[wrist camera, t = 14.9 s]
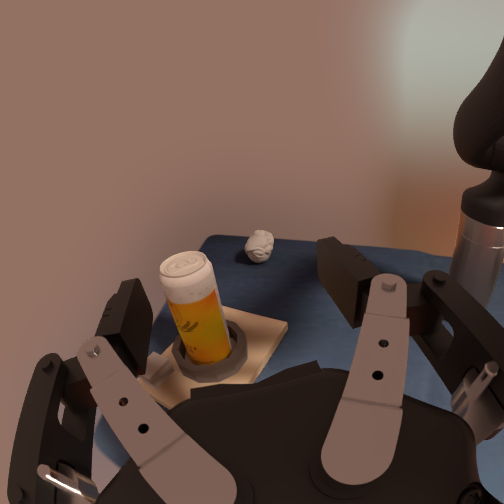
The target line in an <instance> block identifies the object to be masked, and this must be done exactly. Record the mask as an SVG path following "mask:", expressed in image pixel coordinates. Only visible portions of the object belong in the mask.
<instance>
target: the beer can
mask: <svg viewBox="0 0 504 504" xmlns="http://www.w3.org/2000/svg"><path fill="white" fill-rule="evenodd" d="M159 280H160V283H161V286H162V289H163V292H164V294H165V297H166V300H167V302H168V305H169V308H170V310H171V313H172V315H173V318H174V321H175V323H176V326H177V328H178V330H179V333H180V335H181V338H182V340H183V343H184V345H185V347H186V350H187V352H188V354H189V356H190V359H191V361H192V362H193V363H194V364H195V365H213V364H215V363H218V362H220V361H222V360H224V359H226V358H228V357H229V356H230V354H231V353H232V352H233V346H232V343H231V339H230V335H229V331H228V328H227V324H226V320H225V316H224V312H223V308H222V305H221V301H220V297H219V293H218V289H217V284H216V280H215V276H214V272H213V268H212V264H211V263H210V261H209V260H208V259H207V258H206V256H205V254H203V253H201V252H197V251H188V252H183V253H179V254H176V255H173V256H171V257H169V258H168V259H166V260H165V261H164V262H163V263H162V264H161V266H160V276H159Z"/></svg>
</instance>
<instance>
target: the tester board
mask: <svg viewBox="0 0 504 504" xmlns="http://www.w3.org/2000/svg"><path fill="white" fill-rule="evenodd" d="M222 308H223V312H224V316H225V320H226V324H227V328H228V331H229V335H230V339H231V343H232V346H233V352H232V353H231V354H230V356H229V357H228V358H226V359H224V360H222V361H220V362H218V363H215V364H213V365H195V364H194V363H193V362H192V361H191V359H190V356H189V354H188V352H187V350H186V347H185V345H184V343H183V340H182V338H181V335H180V333H179V334H178V335H177V336H176V337H175V339H174V342H173V343H172V344H171V345H170V346H169V347H168V348H167V349H166V350H165V351H164V352H163V353H162V354H161V355H159V354H157V353H156V352H152V353H151V354H150V355H149V356H148V357H147V365H146V374H145V375H138V376H139V377H138V378H137V380H138V382H139V383H140V384H141V385H142V386H143V388H144V389H145V390H146V391H147V392H148V394H149V395H150V396H151V397H152V398H153V399H154V400H155V401H157V402H158V403H160V404H161V405H163V406H164V407H166V408H168V409H169V410H170V409H171V408H173V407H174V406H175V405H177V404H179V403H180V402H182V401H184V400H186V399H189V398H190V389H191V388H197V387H204V386H210V385H216V384H253V383H254V381H255V380H256V378H257V377H258V375H259V374H260V372H261V371H262V369H263V368H264V366H265V365H266V363H267V362H268V360H269V359H270V357H271V355H272V354H273V352H274V351H275V349H276V348H277V346H278V344H279V343H280V341H281V340H282V338H283V336H284V335H285V333H286V332H287V330H288V324H287V322H284V321H280V320H276V319H272V318H268V317H264V316H260V315H256V314H252V313H248V312H244V311H240V310H236V309H233V308H229V307H225V306H222Z"/></svg>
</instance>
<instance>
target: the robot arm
mask: <svg viewBox="0 0 504 504" xmlns="http://www.w3.org/2000/svg"><path fill="white" fill-rule="evenodd" d="M453 139H454V144H455V148H456V150H457V153H458V154H459V156H460V157H461V159H462V160H463V161H464V162H466V163H467V164H469V165H471V166H474V167H476V168H482V169H487V170H492V172H491V175H490V177H489V178H488V179H487V180H486V181H485V182H484V183H482V184H480V185H477V186H474V187H471V188H468V189H466V190H465V191H464V193H463V195H462V202H461V210H460V218H459V225H458V231H457V237H456V242H455V247H454V252H453V257H452V261H451V265H450V270H449V274H447V273H445V272H442V271H438V270H431V271H428V272H426V273H425V274H424V276H423V281H422V283H413V284H406V282H405V281H404V280H403V279H402V278H401V277H399V276H397V275H394V274H382V273H381V272H380V271H379V270H378V269H377V268H376V267H375V266H374V265H373V264H372V263H371V262H370V261H369V260H367V258H365V257H364V256H363V255H362V254H361V253H360V252H359V251H358V250H357V249H356V248H353V247H351V246H349V245H343V244H342V243H341V242H340V241H338V240H337V239H336V238H335V237H328V238H324V239H319V240H318V241H317V272H318V277H319V280H320V282H321V284H322V285H323V286H324V288H325V289H326V291H327V292H328V294H329V295H330V296H331V298H332V299H333V301H334V302H335V304H336V305H337V307H338V308H339V309H340V311H341V312H342V314H343V315H344V317H345V318H346V320H347V321H348V323H349V324H350V326H351V327H352V329H354V328H357V327H360V326H362V327H361V331H360V335H359V339H358V343H357V347H356V351H355V355H354V358H353V362H352V365H351V369H350V372H349V371H346V370H341V369H334V368H322V369H320V367H319V365H318V363H317V360H316V361H312V362H309V363H306V364H302V365H299V366H295V367H291V368H288V369H285V370H283V371H281V372H279V373H277V374H275V375H273V376H271V377H269V378H267V379H264V380H262V381H260V382H258V383H254V384H216V385H210V386H204V387H197V388H191V389H190V398H189V399H186V400H184V401H182V402H180V403H179V404H177V405H175V406H174V407H173V408H171V409H170V410H169V411H168V412H167V413H165V412H164V410H163V409H162V408H161V407H160V406H159V405H158V404H157V403H156V402H155V400H154V399H153V398H152V397H151V396H150V395H149V394H148V392H147V391H146V390H145V389H144V388H143V386H142V385H141V384H140V383H139V382H138V380H137V379H136V378H135V377H136V376H137V375H145V374H146V365H147V357H148V349H149V342H150V335H151V328H152V322H153V312H152V308H151V305H150V303H149V300H148V298H147V296H146V293H145V291H144V289H143V286H142V284H141V282H140V280H139V279H138V278H135V279H130V280H126V281H122V283H121V285H120V288H119V290H118V293H117V294H114V295H113V296H112V297H111V298H110V300H109V301H108V302H107V304H106V307H105V311H104V312H103V315H102V318H101V320H100V323H99V325H98V328H97V331H96V334H95V337H92V338H90V339H88V340H86V341H85V342H84V343H83V344H82V345H81V346H80V347H79V349H78V352H77V356H76V357H74V358H71V359H68V360H66V361H63V360H62V359H61V358H60V356H59V355H58V354H56V353H50V354H47V355H45V356H44V357H43V358H41V360H40V361H39V362H38V363H37V365H36V367H35V370H34V373H33V376H32V379H31V381H30V384H29V387H28V391H27V394H26V397H25V400H24V404H23V407H22V411H21V415H20V419H19V422H18V427H17V431H16V435H15V440H14V446H13V450H12V456H11V463H10V470H9V478H8V488H7V489H8V490H7V495H8V500H9V503H10V504H503V503H501V502H500V501H499V500H497V499H496V498H495V497H493V496H492V495H491V494H490V493H489V492H488V491H487V490H486V489H485V488H484V487H483V485H482V484H481V482H480V479H479V474H478V469H477V460H476V446H477V445H478V444H479V443H481V442H482V441H483V440H489V439H491V438H493V437H494V436H495V435H496V434H497V433H499V432H500V431H501V430H502V429H503V428H504V328H503V327H502V326H501V325H500V324H499V323H498V322H497V321H496V320H495V319H494V317H493V316H492V315H491V314H490V313H489V312H488V311H487V310H486V308H487V305H488V303H489V300H490V298H491V295H492V292H493V290H494V287H495V284H496V281H497V278H498V275H499V272H500V268H501V265H502V262H503V258H504V38H503V40H502V43H501V46H500V48H499V50H498V52H497V54H496V56H495V57H494V59H493V61H492V63H491V65H490V67H489V68H488V70H487V72H486V73H485V75H484V76H483V78H482V79H481V80H480V82H479V83H478V84H477V86H476V87H475V88H474V89H473V91H472V92H471V93H470V94H469V95H468V96H467V98H466V99H465V100H464V101H463V103H462V104H461V106H460V108H459V110H458V112H457V115H456V118H455V122H454V128H453ZM443 318H445V319H446V320H447V322H448V323H449V324H450V325H451V326H452V328H453V331H454V338H453V336H452V335H451V334H450V333H449V331H448V330H447V329H446V328H445V327H444V325H443V324H442V320H443ZM409 336H412V338H413V339H414V340H415V342H416V343H417V344H418V346H419V347H420V349H421V350H422V352H423V353H424V354H425V356H426V357H427V359H428V360H429V362H430V363H431V364H432V366H433V367H434V369H435V370H436V372H437V373H438V375H439V376H440V378H441V379H442V381H443V382H444V384H445V386H446V387H447V389H448V390H449V392H450V393H451V395H452V397H451V407H452V412H450V411H447V410H444V409H441V408H439V407H436V406H433V405H430V404H428V403H425V402H423V401H420V400H417V399H415V398H412V397H410V396H407V395H405V394H403V392H404V385H405V377H406V367H407V357H408V344H409ZM60 402H61V403H62V404H63V405H64V406H65V409H64V414H63V419H62V425H61V424H60V423H59V420H58V410H59V405H60ZM97 406H99V408H100V410H101V412H102V413H103V415H104V417H105V418H106V420H107V422H108V423H109V425H110V427H111V428H112V430H113V431H114V433H115V434H116V436H117V437H118V439H119V440H120V442H121V443H122V445H123V446H124V448H125V449H126V450H127V452H128V453H129V455H130V456H131V457H130V458H129V460H128V461H127V462H126V463H125V464H124V466H123V467H122V468H121V469H120V471H119V472H118V473H117V474H116V475H115V477H114V478H113V479H112V480H111V481H110V483H109V484H108V485H107V486H106V487H105V489H104V490H103V491H102V492H101V493H98V491H97V487H96V485H95V483H94V482H93V481H92V480H91V468H92V448H93V435H94V424H95V415H96V407H97Z"/></svg>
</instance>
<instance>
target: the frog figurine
mask: <svg viewBox="0 0 504 504" xmlns="http://www.w3.org/2000/svg"><path fill="white" fill-rule="evenodd" d="M273 243H274V239H273V236H272V234H271V233H269V232H266V231H264V230H256V231H255V232H254V234H253V235H252V236H251V237H250V238H249V239H248V240H247V243H246V245H245V253H246V254H248V256H249V258H250V259H251V260H252V261H253V262H255V263H263V262H265V261H266V260H267V259H268V258H269V256H270V255H271V251H272V249H273Z"/></svg>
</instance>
